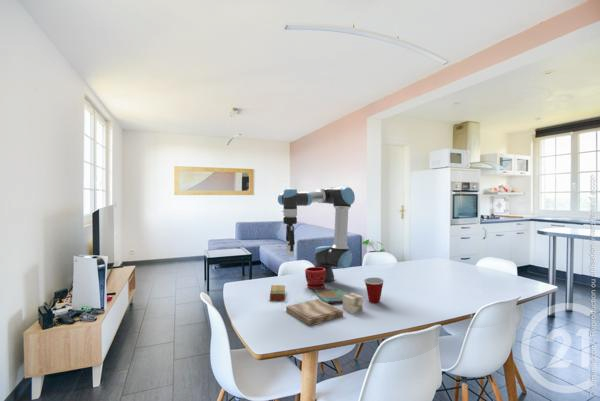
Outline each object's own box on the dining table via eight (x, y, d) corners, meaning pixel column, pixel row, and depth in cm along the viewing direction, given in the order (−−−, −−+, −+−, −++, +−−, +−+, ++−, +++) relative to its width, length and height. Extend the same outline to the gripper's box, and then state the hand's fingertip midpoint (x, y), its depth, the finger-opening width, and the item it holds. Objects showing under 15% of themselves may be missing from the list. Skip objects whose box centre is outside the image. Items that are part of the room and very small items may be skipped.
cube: (352, 305, 155) (352, 292, 155) (362, 310, 149) (362, 296, 149) (342, 308, 151) (342, 295, 151) (352, 313, 145) (352, 299, 145)
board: (318, 303, 158) (318, 298, 158) (343, 316, 141) (343, 310, 141) (286, 311, 147) (286, 305, 147) (309, 325, 130) (309, 319, 130)
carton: (284, 291, 179) (285, 284, 179) (284, 301, 163) (284, 293, 162) (271, 291, 178) (271, 284, 178) (269, 301, 162) (269, 293, 162)
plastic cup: (359, 299, 164) (359, 278, 164) (375, 297, 169) (375, 276, 169) (372, 306, 154) (372, 283, 154) (388, 303, 159) (388, 281, 159)
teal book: (326, 306, 155) (326, 301, 155) (312, 292, 178) (312, 288, 178) (355, 303, 160) (356, 298, 160) (338, 290, 182) (338, 286, 182)
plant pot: (325, 284, 193) (325, 266, 192) (325, 291, 179) (325, 271, 179) (305, 284, 194) (306, 266, 194) (304, 290, 181) (304, 270, 181)
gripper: (281, 215, 174) (281, 250, 174) (285, 218, 150) (285, 259, 150) (293, 215, 175) (293, 250, 175) (300, 218, 151) (300, 259, 151)
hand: (289, 254), depth 163 cm, fingers open, 13 cm apart
